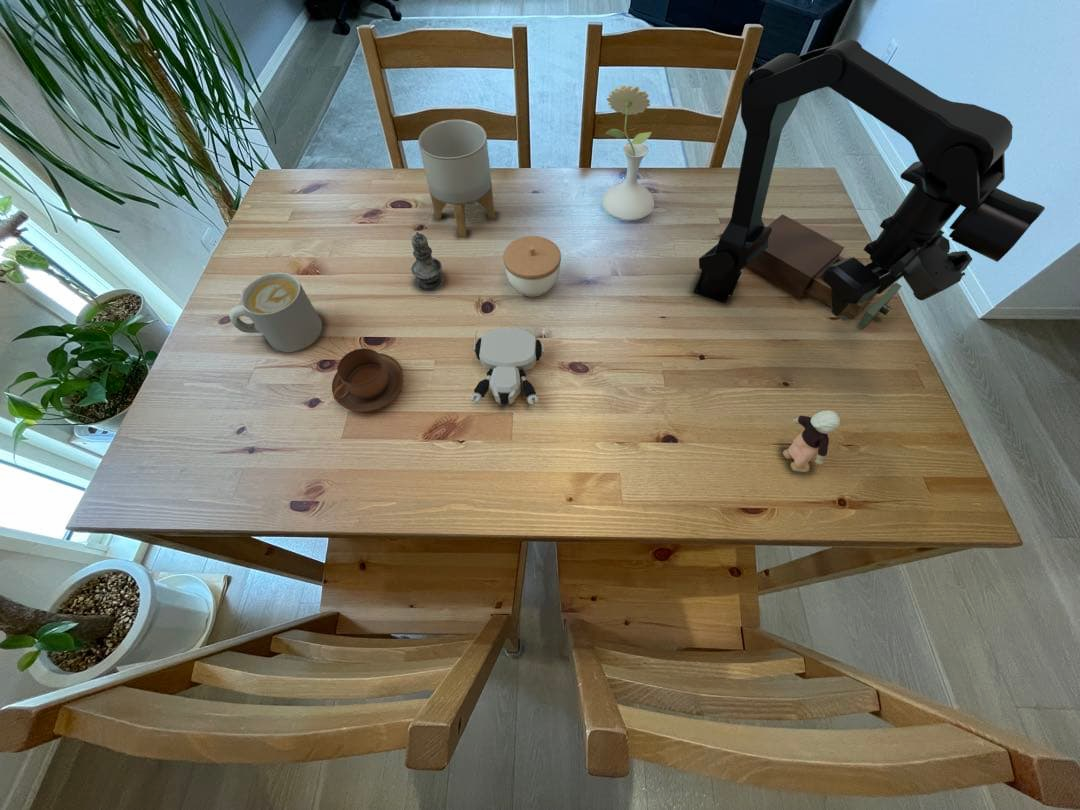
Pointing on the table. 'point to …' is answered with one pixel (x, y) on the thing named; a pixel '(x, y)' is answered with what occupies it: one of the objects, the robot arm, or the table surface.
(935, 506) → the table surface
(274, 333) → the coffee mug
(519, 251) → the trinket box
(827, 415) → the grandmother figurine
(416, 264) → the stone statuette
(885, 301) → the drawer
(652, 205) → the flower in vase
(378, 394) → the cup and saucer
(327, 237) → the table surface
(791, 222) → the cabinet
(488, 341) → the robot toy
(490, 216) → the planter
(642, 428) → the table surface
